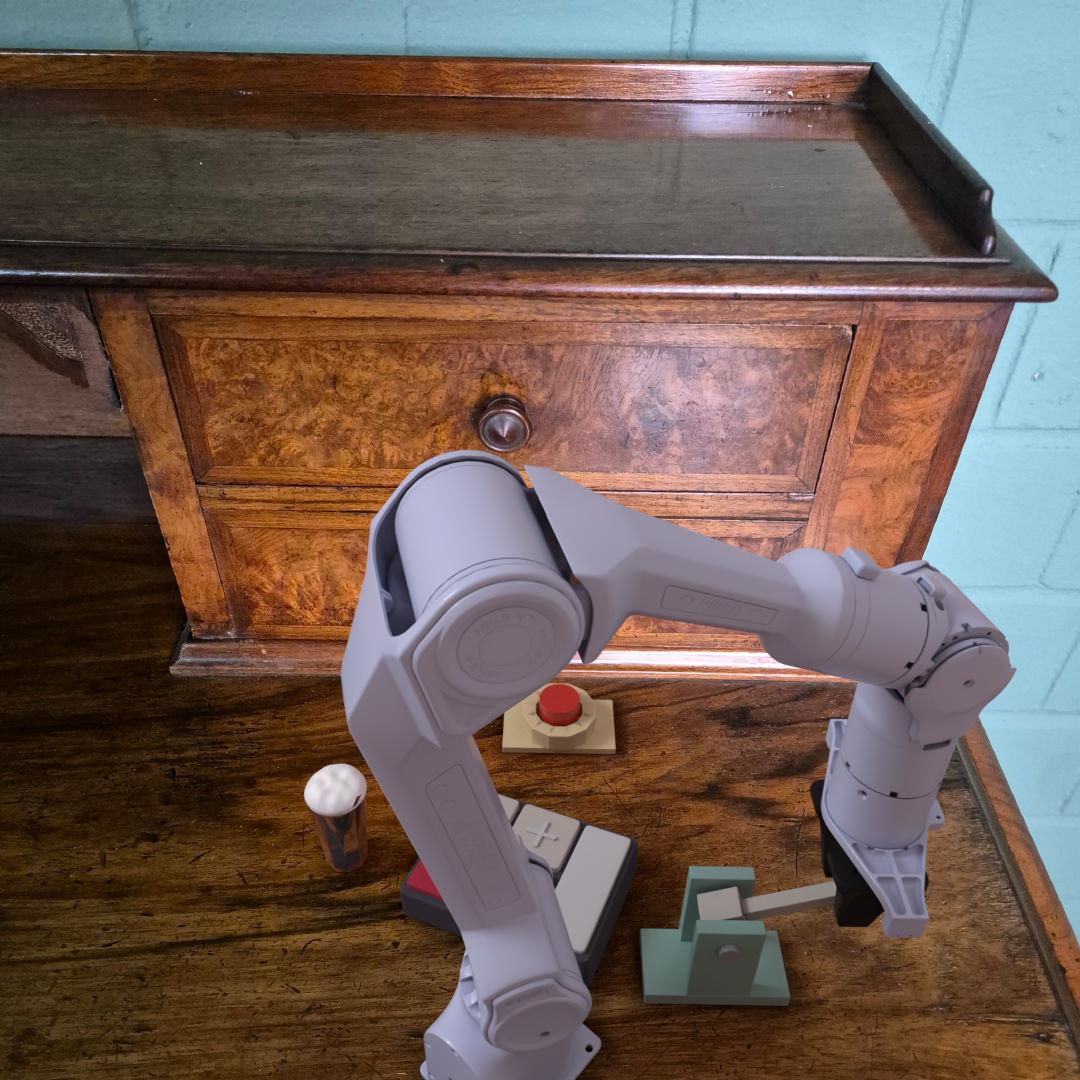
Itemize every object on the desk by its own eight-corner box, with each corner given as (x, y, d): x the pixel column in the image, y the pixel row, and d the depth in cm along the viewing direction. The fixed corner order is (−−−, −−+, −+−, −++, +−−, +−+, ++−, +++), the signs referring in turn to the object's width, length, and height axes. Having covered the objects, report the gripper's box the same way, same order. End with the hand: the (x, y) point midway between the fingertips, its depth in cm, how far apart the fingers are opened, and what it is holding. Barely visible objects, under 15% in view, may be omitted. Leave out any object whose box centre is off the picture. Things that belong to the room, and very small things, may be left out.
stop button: (579, 727, 84) (580, 713, 83) (538, 726, 84) (539, 712, 83) (578, 697, 87) (579, 683, 86) (539, 697, 87) (539, 683, 86)
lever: (879, 875, 63) (871, 850, 62) (891, 916, 61) (884, 890, 59) (705, 910, 66) (694, 886, 64) (711, 951, 64) (700, 927, 62)
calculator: (464, 775, 77) (640, 832, 72) (468, 810, 80) (638, 867, 74) (395, 884, 69) (587, 957, 64) (402, 919, 71) (588, 992, 66)
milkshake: (349, 897, 72) (333, 814, 66) (306, 856, 75) (288, 773, 69) (395, 860, 75) (383, 776, 69) (352, 821, 78) (338, 738, 72)
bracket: (773, 933, 70) (793, 861, 65) (789, 1013, 65) (812, 942, 60) (638, 930, 70) (647, 858, 65) (644, 1011, 65) (655, 939, 60)
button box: (615, 756, 84) (617, 737, 82) (502, 754, 84) (501, 735, 82) (611, 703, 89) (613, 683, 88) (505, 701, 89) (505, 682, 88)
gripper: (1010, 870, 48) (943, 1007, 57) (921, 671, 60) (876, 808, 68) (871, 868, 49) (824, 1005, 57) (810, 669, 60) (778, 806, 68)
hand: (845, 897), depth 62 cm, fingers closed on lever, 3 cm apart
